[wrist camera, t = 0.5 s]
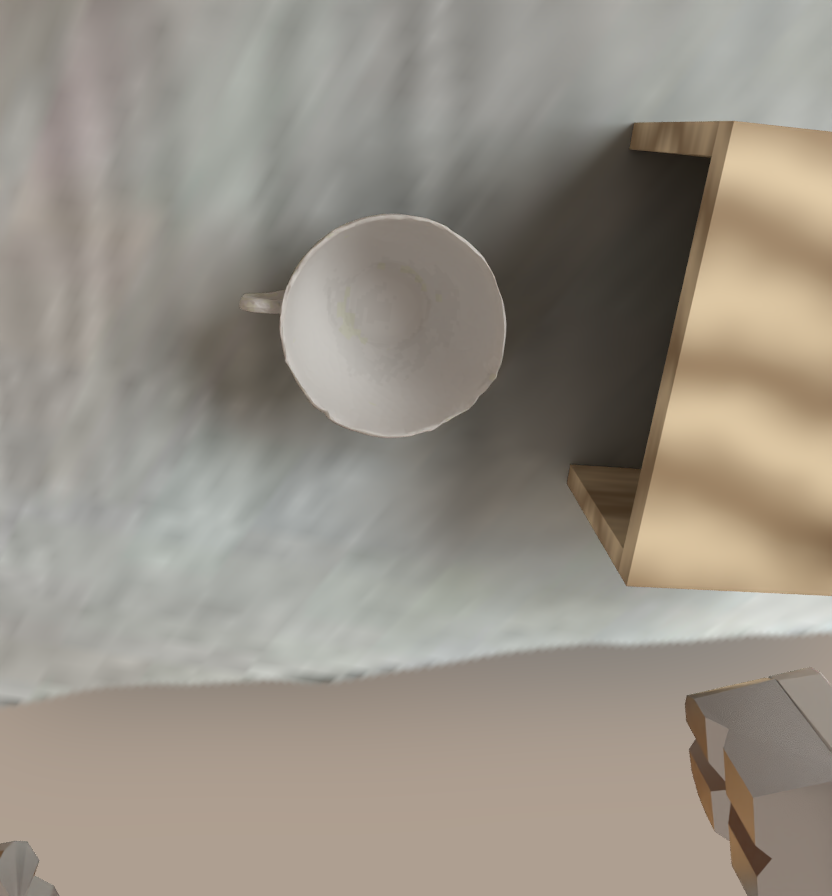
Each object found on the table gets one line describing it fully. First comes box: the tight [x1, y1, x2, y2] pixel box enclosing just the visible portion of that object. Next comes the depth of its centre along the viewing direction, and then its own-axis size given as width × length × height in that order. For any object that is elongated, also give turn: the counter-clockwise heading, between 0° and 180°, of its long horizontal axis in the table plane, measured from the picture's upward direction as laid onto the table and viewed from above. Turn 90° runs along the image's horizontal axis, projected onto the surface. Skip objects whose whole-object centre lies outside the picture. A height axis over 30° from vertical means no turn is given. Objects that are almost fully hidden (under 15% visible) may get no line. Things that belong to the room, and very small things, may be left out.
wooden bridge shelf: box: [567, 121, 832, 596], centre depth 46 cm, size 24×20×14 cm
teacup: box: [239, 214, 506, 438], centre depth 46 cm, size 15×12×8 cm
